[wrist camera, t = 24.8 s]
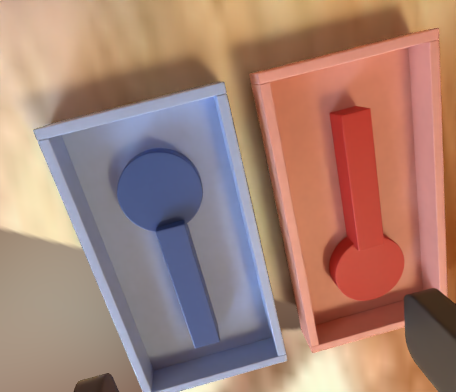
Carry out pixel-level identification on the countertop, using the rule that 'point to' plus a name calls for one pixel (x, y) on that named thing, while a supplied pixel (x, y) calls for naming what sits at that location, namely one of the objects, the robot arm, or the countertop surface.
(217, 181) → the blue tray
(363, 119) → the red spoon
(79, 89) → the countertop surface
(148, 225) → the blue spoon
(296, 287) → the red tray
